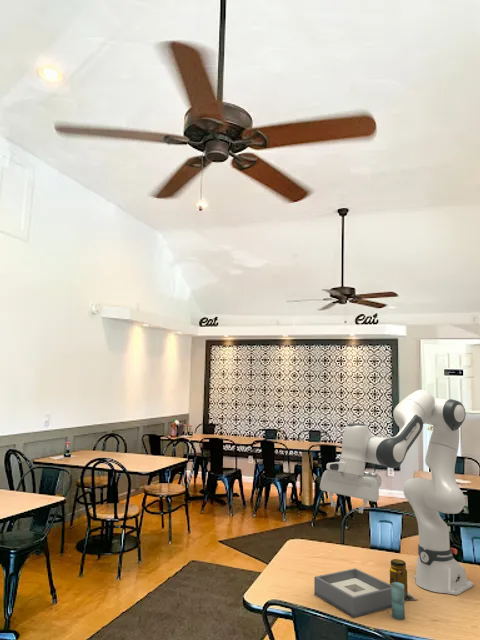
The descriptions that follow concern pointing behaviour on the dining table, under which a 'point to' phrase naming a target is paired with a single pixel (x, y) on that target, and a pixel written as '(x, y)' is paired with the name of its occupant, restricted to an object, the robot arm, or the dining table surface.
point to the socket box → (353, 592)
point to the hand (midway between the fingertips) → (346, 509)
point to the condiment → (400, 576)
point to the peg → (398, 601)
